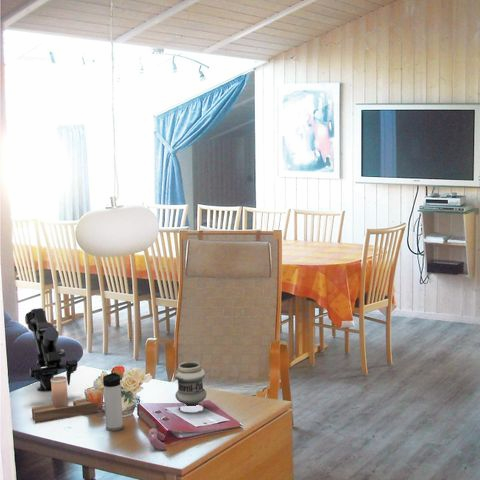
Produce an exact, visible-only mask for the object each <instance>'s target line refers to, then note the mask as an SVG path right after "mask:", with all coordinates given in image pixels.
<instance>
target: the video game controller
mask: <svg viewBox="0 0 480 480" xmlns="http://www.w3.org/2000/svg"><path fill="white" fill-rule="evenodd" d="M165 435H166V434H164V433H162V432H160V431H159V430H158V429H156V428H155V427H153V428H150V429H149V430H148V441H149V443H150V444H151V446H153V447H154V449H157V450H160V451H165V450H166V449H167V445H166V444H165V443H163V442H164V441H165V440H166V439H165V437H166V436H165ZM164 439H165V440H164Z"/></svg>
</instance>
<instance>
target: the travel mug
mask: <svg viewBox="0 0 480 480" xmlns="http://www.w3.org/2000/svg"><path fill="white" fill-rule="evenodd" d="M102 381H103V382H102V383H103V401H104V402H103V403H104V416H105V418H104V419H105V420H104V421H105V429H106V430H107V431H109V432H110V431H112V432H116V431H120V430H122V429H123V427H124V421H123V420H124V417H123V403H122V386H121V375H120V374H118V373H116V372H110V373H108V374H105V375H104V376H103V377H102Z"/></svg>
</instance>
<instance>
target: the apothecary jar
mask: <svg viewBox="0 0 480 480" xmlns="http://www.w3.org/2000/svg"><path fill="white" fill-rule="evenodd" d="M205 376H206V372H205V370H204V369H203V368H202V367H201V364H200V362H198V361H185V362H182V363H180V364H178V367H177V370H176V371H175V372H174V377H175V380H177V385H178V386H177V387H178V388H177V391H176V392H175V398H176V400H177V401H178V402H179V403H181V404H183V405H184V404H186V405H187V406H196V405H198V404H200V403H202V402H203V401H204V400H205V399H206V398H207V391H206V389H204V385H203V379H204V378H205Z"/></svg>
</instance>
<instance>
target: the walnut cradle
mask: <svg viewBox="0 0 480 480" xmlns="http://www.w3.org/2000/svg"><path fill="white" fill-rule="evenodd" d="M86 398H87V397H86ZM86 398H79V399H74V400H72V405H68V407H62V408H55V407H54V405H53V404H52V403H51V404H49V403H48V404H44V405H38V406H32V407H31V416H32V420H33V421H34V422H35V424H39V423H40V424H41V423H45V422H46V423H47V422H51V421H56V420H63V419H67V418H73V417H80V416H85V415H91V414H95V413H94V412H97V413H99V405H98V401H97V402H96V403H91V402H87V400H86Z"/></svg>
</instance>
